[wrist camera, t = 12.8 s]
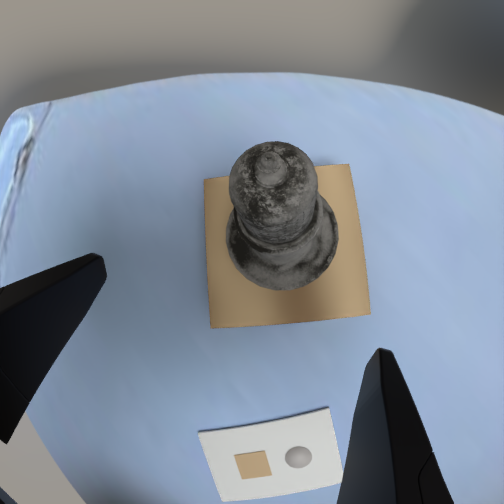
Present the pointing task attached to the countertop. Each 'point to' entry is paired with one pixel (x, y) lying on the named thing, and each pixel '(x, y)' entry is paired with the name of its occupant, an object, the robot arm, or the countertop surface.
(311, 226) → the weathered stone finial
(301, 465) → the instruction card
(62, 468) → the countertop surface
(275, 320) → the base brick
